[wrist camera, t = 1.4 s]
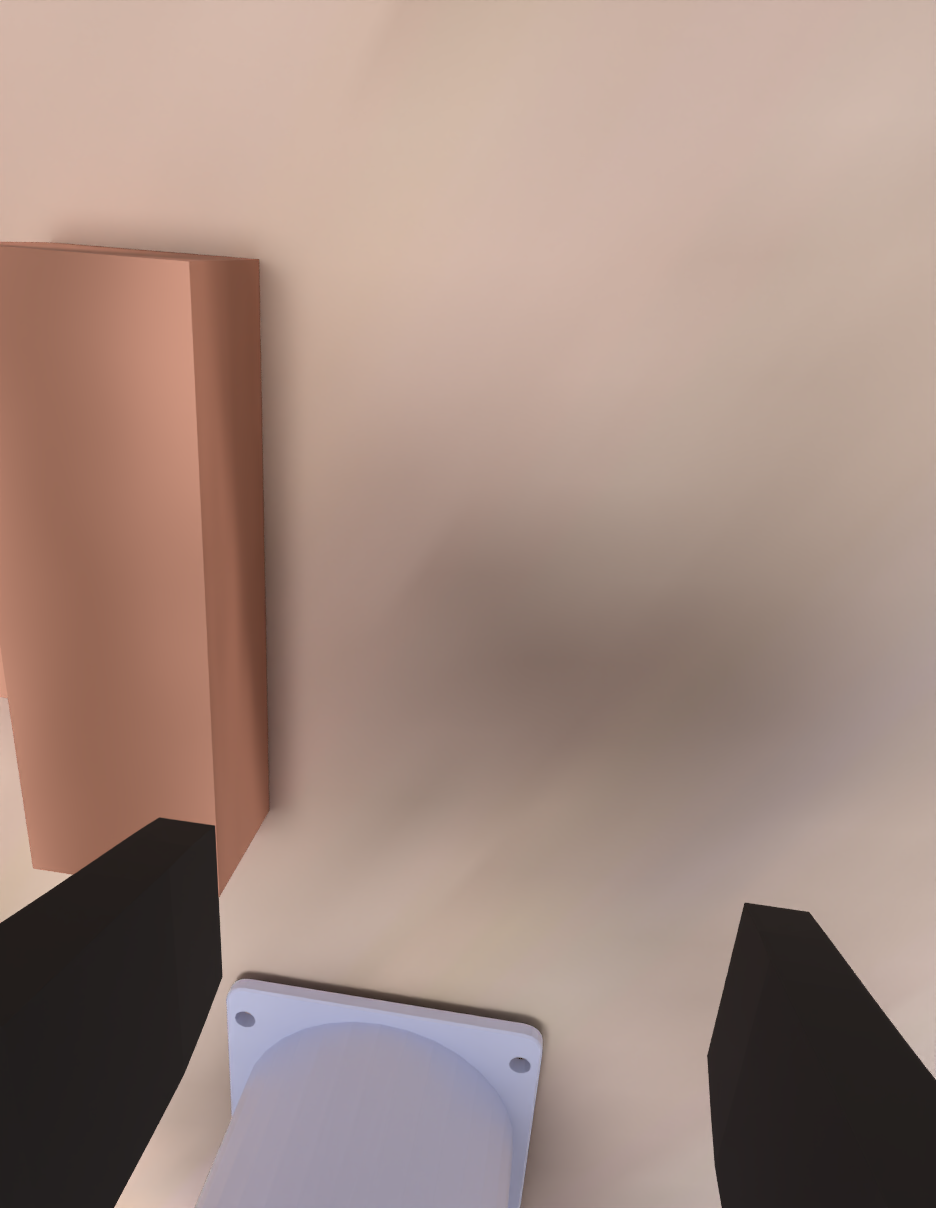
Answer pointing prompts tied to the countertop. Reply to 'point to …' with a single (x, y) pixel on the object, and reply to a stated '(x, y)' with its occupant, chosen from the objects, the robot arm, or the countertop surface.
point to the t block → (132, 546)
